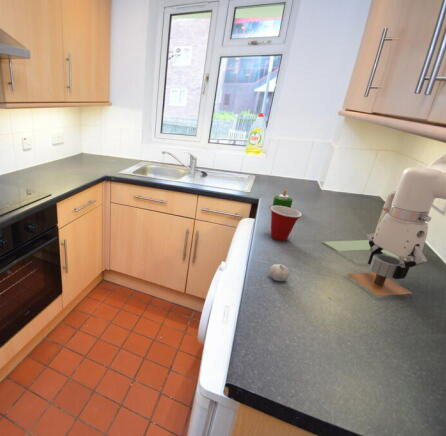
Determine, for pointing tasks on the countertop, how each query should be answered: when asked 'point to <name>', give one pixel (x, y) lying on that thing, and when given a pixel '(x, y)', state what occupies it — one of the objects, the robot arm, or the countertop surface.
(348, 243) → the mat
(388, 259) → the tape roll
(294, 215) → the plastic cup
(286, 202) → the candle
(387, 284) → the stand
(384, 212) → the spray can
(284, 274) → the garlic
